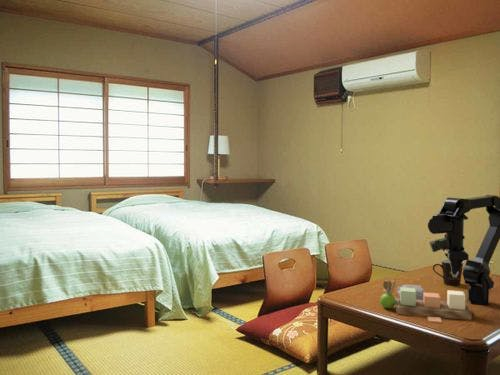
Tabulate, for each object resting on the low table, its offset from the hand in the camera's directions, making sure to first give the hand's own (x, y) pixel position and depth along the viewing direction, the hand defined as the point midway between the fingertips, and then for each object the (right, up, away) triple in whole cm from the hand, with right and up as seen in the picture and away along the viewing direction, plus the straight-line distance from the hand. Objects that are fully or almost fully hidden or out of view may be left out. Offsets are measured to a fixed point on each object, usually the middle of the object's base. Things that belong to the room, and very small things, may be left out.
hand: (454, 274), depth 163 cm
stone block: (-11, -12, +14) cm, 22 cm away
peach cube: (-10, -11, -5) cm, 16 cm away
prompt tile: (-13, -13, -13) cm, 22 cm away
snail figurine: (-24, -12, -1) cm, 27 cm away
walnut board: (-10, -12, -5) cm, 17 cm away
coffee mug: (+12, -10, +32) cm, 35 cm away
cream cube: (-3, -10, -7) cm, 13 cm away
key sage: (-18, -10, -3) cm, 21 cm away
